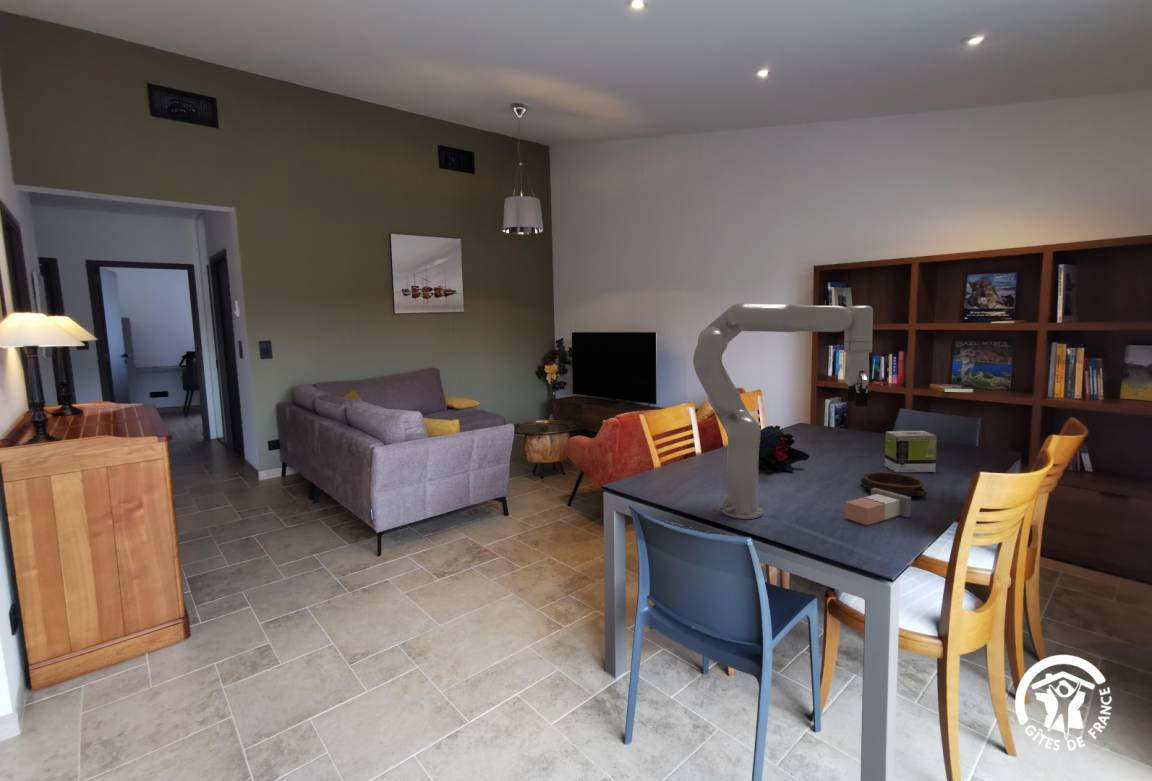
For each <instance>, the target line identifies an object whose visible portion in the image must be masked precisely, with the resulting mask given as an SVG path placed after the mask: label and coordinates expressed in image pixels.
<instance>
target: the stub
mask: <svg viewBox="0 0 1152 781" xmlns="http://www.w3.org/2000/svg"><path fill="white" fill-rule="evenodd" d="M864 497H865V496H864ZM864 497H863V496H862V497H859V498H855V499H852V500H848V501H846V502H845V515H844V516H845V519H847V520H850V521H853V522H856V523H859V524H862V525H865V526H870V525H872V524H876V523H878V522H881V521H882V522H883V521H885V520H884V509H885V504H884V503H882V502H878V501H874V500H871V499H867V498H864Z"/></svg>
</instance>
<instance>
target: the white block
mask: <svg viewBox="0 0 1152 781" xmlns="http://www.w3.org/2000/svg"><path fill="white" fill-rule="evenodd" d="M864 498H867V499H871V500H874V501H878V502H882V503H884V504H885V509H884V520H883V521H885V520H889V519H892V518H894V517H898V516H901V517H904V518H909V517H911V507H912V506H911V505H912V496H909V497H908V496H904V495H900V494H896V493H893V492H889V491H885V490H881V489H878V488H872V489H871V490H870V495H868V496H864Z"/></svg>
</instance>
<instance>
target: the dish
mask: <svg viewBox="0 0 1152 781" xmlns="http://www.w3.org/2000/svg"><path fill="white" fill-rule="evenodd" d="M860 483H861V484H862V485H865V486H867V488H868V489H869V491H871V489H872V488H878V489H881V490H885V491H889V492H893V493H896V494H900V495H904V496H908V497H913V496H918V497H927V495H928V490H926V489H925V488H923V486H924V482H923V481H922V480H921V479H919V478H917V477H915V476H913V475H912V476H911V475H907V474H903V473H898V472H887V471H886V472H885V471H877V472H876V471H875V472H868V473H865V474H864V475H863V477H861V478H860Z"/></svg>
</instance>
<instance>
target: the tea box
mask: <svg viewBox="0 0 1152 781" xmlns="http://www.w3.org/2000/svg"><path fill="white" fill-rule="evenodd" d="M937 438H938V435H937V434H936V435H935V434H934V433H931V432H928V431H926V430H895V431H894V430H891V431H888V430H886V431H885V441H884V442H885V447H884V448H885V449H884V467H886V468H887V467H888V468H887V469H889V470H891V471H892V470H893V471H892V472H893V473H936V470H937V468H936V466H937V442H938V441H937V440H938V439H937Z"/></svg>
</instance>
